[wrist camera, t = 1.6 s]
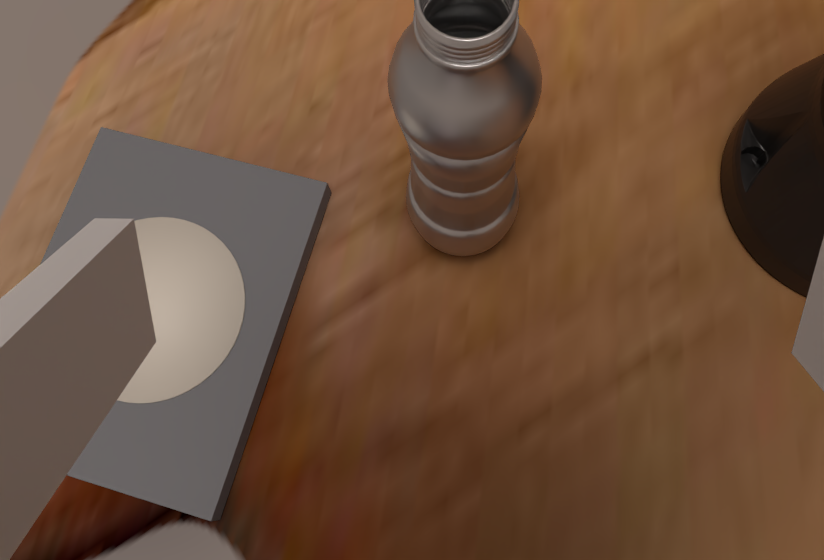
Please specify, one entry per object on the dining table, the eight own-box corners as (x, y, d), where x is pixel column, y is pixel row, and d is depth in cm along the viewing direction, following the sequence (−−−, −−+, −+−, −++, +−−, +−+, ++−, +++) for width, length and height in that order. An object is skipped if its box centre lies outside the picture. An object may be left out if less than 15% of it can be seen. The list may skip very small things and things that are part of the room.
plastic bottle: (420, 275, 43) (390, 101, 23) (399, 173, 45) (357, -66, 25) (526, 254, 43) (585, 62, 23) (501, 153, 44) (536, -102, 25)
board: (112, 138, 46) (99, 125, 45) (331, 192, 44) (326, 181, 43) (-21, 443, 41) (-41, 441, 40) (219, 520, 39) (209, 521, 38)
